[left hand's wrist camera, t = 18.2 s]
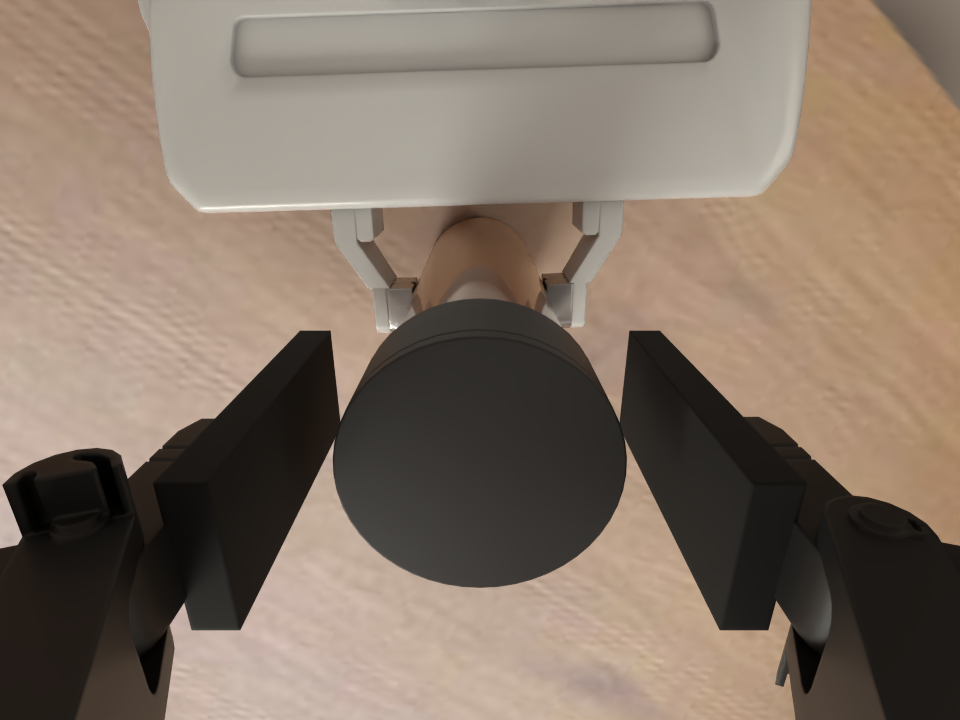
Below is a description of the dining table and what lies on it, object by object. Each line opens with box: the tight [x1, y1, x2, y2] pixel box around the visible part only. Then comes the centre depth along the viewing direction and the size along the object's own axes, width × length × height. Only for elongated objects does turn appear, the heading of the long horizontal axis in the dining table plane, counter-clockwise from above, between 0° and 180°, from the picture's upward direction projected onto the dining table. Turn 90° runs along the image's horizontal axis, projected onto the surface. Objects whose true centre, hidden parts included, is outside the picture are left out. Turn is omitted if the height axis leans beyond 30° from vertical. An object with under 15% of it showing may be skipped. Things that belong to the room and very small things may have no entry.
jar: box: [397, 217, 563, 328], centre depth 18 cm, size 5×5×17 cm
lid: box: [333, 298, 627, 588], centre depth 11 cm, size 5×5×2 cm
